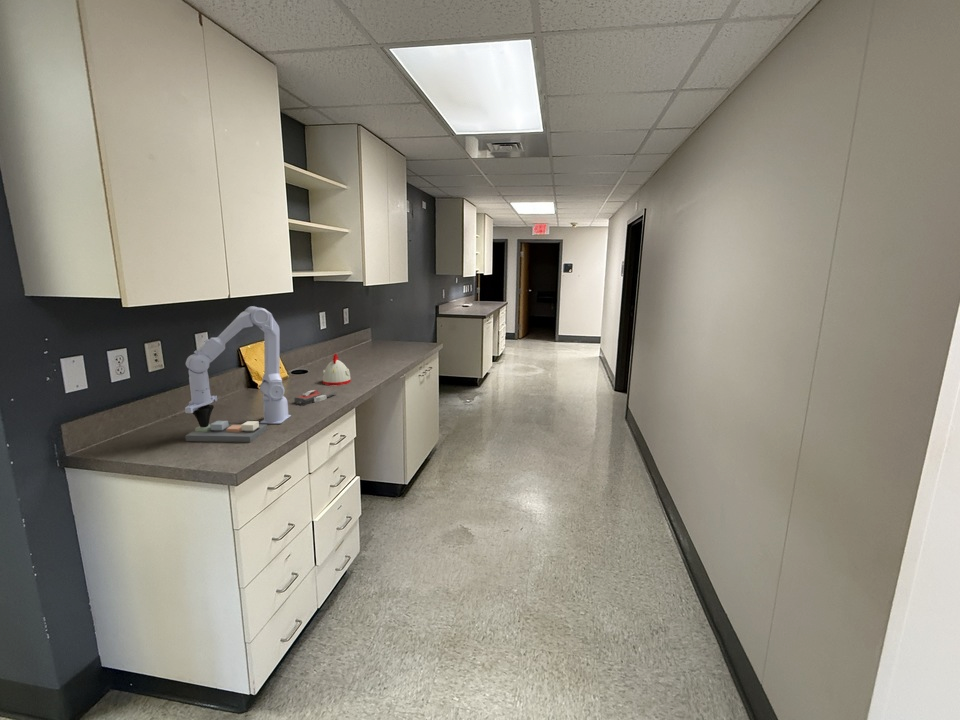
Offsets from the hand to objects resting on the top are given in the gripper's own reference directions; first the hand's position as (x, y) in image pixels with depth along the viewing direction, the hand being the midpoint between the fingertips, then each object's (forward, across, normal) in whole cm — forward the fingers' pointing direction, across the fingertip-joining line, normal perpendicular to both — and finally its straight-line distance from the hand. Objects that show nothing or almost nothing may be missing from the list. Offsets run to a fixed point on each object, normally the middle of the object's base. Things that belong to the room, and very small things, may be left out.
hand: (204, 426), depth 156 cm
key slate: (+1, 0, +5) cm, 6 cm away
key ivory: (+1, 0, +16) cm, 16 cm away
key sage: (+3, 0, 0) cm, 3 cm away
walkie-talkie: (+4, -46, +22) cm, 51 cm away
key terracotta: (+3, 0, +11) cm, 11 cm away
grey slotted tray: (+3, 0, +8) cm, 9 cm away
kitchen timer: (+3, -77, +21) cm, 80 cm away
